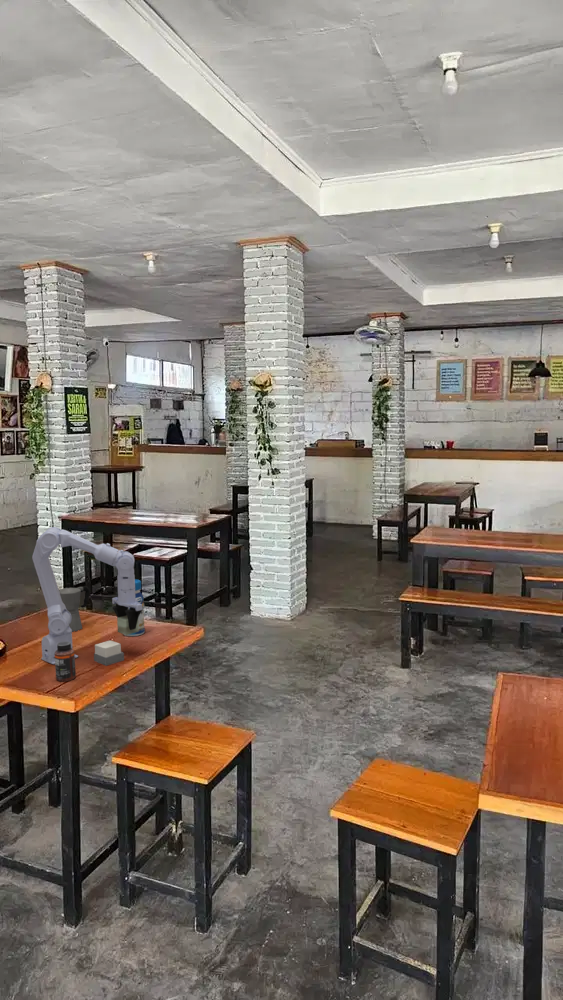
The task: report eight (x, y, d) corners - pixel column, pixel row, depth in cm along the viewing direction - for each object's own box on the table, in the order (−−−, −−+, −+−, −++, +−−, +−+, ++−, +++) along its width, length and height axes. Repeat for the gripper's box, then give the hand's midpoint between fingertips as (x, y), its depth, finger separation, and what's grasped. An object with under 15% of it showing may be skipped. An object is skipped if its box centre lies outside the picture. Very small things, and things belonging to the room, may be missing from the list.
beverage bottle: (120, 631, 265) (118, 580, 263) (142, 628, 269) (140, 577, 266) (124, 638, 258) (122, 584, 255) (147, 635, 261) (145, 582, 259)
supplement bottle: (73, 673, 223) (71, 639, 221) (77, 679, 217) (76, 644, 216) (54, 677, 220) (52, 642, 218) (57, 683, 215) (56, 647, 213)
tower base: (106, 667, 229) (105, 658, 229) (94, 662, 234) (93, 653, 234) (124, 661, 234) (123, 652, 234) (112, 656, 239) (111, 648, 239)
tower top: (105, 657, 230) (105, 648, 229) (95, 653, 234) (94, 644, 233) (121, 652, 234) (120, 643, 234) (110, 648, 238) (110, 640, 238)
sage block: (126, 635, 236) (125, 620, 235) (117, 632, 239) (117, 617, 239) (138, 631, 240) (138, 617, 239) (130, 628, 243) (129, 614, 242)
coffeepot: (59, 635, 262) (57, 588, 260) (48, 630, 269) (46, 584, 267) (97, 626, 272) (95, 581, 270) (85, 621, 279) (83, 577, 277)
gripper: (149, 589, 236) (150, 629, 237) (123, 583, 245) (125, 620, 247) (131, 593, 231) (133, 633, 232) (106, 586, 240) (108, 625, 242)
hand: (127, 627), depth 239 cm, fingers closed on sage block, 5 cm apart
